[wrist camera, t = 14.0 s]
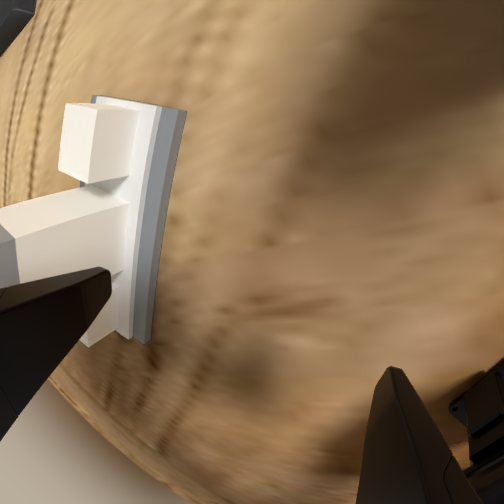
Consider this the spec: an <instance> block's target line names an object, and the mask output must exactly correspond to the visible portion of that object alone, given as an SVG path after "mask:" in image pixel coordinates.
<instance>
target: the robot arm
mask: <svg viewBox="0 0 504 504" xmlns="http://www.w3.org/2000/svg"><path fill="white" fill-rule="evenodd" d="M111 294H112V282H111V273H110V271H109V270H108V269H105V268H103V267H94V268H89V269H85V270H80V271H76V272H71V273H66V274H62V275H57V276H53V277H48V278H44V279H39V280H35V281H30V282H26V283H21V284H17V285H13V286H9V287H3V288H0V441H1V440H2V438H3V437H4V436H5V434H6V433H7V431H8V430H9V428H10V427H11V425H12V424H13V423H14V422H15V420H16V419H17V418H18V415H20V413H21V412H22V411H23V409H24V408H25V407H26V405H27V404H28V403H29V401H30V400H31V399H32V398H33V396H34V395H35V394H36V392H37V391H38V390H39V389H40V387H41V386H42V385H43V383H44V382H45V381H46V380H47V378H48V377H49V376H50V375H51V373H52V372H53V371H54V370H55V368H56V367H57V366H58V365H59V364H60V362H61V361H62V360H63V359H64V357H65V356H66V355H67V354H68V353H69V351H70V350H71V349H72V348H73V347H74V345H75V344H76V343H77V342H78V341H79V339H80V338H81V337H82V336H83V335H84V334H85V332H86V331H87V330H88V328H89V327H90V326H91V324H92V323H93V321H94V320H95V318H96V317H97V316H98V314H99V313H100V311H101V310H102V308H103V307H104V306H105V304H106V303H107V301H108V300H109V299H110V297H111ZM454 407H456V408H454ZM449 412H450V413H451V414H452V415H453V416H454V417H456V418H457V419H458V420H459V421H460V422H462V423H463V424H464V425H465V426H466V427H467V433H468V440H469V459H470V467H468V468H466V469H465V470H463V471H462V469H461V468H460V466H459V464H458V462H457V460H456V459H455V457H454V456H452V455H453V454H452V452H451V450H450V448H449V446H448V445H447V443H446V441H445V439H444V438H443V436H442V434H441V432H440V431H439V429H438V427H437V426H436V424H435V422H434V421H433V419H432V417H431V415H430V414H429V412H428V410H427V409H426V407H425V405H424V404H423V402H422V401H421V399H420V397H419V396H418V394H417V392H416V391H415V389H414V388H413V386H412V384H411V383H410V381H409V379H408V378H407V376H406V375H405V373H404V372H403V370H402V369H400V368H396V367H392V366H390V367H388V368H387V369H386V371H385V372H384V374H383V375H382V377H381V378H380V380H379V381H378V383H377V385H376V387H375V390H374V395H373V400H372V405H371V410H370V415H369V420H368V424H367V429H366V434H365V441H364V450H363V459H362V466H361V474H360V481H359V487H358V493H357V499H356V504H504V361H503V362H502V363H501V364H500V365H499V366H498V367H496V368H495V369H494V370H493V371H492V372H490V373H489V374H488V375H487V376H486V377H484V378H483V379H482V380H481V381H479V382H478V383H477V384H476V385H474V386H473V387H472V388H471V389H469V390H468V391H467V392H465V393H464V394H463V395H461V396H460V397H459V398H457V399H456V400H454V401H453V402H452V403H451V404H450V405H449Z"/></svg>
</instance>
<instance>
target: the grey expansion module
mask: <svg viewBox="0 0 504 504" xmlns="http://www.w3.org/2000/svg"><path fill="white" fill-rule="evenodd" d="M129 205H130V203H129V202H127V201H125V200H123V199H120V198H118V197H116V196H114V195H112V194H110V193H107V192H105V191H103V190H101V189H99V188H97V187H94V186H92V185H89V186H85V187H80V188H76V189H71V190H67V191H63V192H59V193H55V194H50V195H46V196H43V197H39V198H35V199H31V200H27V201H24V202H20V203H16V204H13V205H9V206H6V207H2V208H0V288H3V287H9V286H13V285H17V284H21V283H26V282H30V281H35V280H39V279H44V278H48V277H53V276H57V275H62V274H66V273H71V272H76V271H80V270H85V269H89V268H94V267H103V268H105V269H108V270H109V271H110V273H111V276H112V275H114V274H116V273H118V272H120V271H123V270H124V258H125V245H126V234H127V223H128V214H129Z"/></svg>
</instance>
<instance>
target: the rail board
mask: <svg viewBox="0 0 504 504" xmlns="http://www.w3.org/2000/svg"><path fill="white" fill-rule="evenodd" d="M186 114H187V111H184V110H179V109H174V108H170V107H165V106H160V105H155V104H150V103H145V102H139V101H134V100H128V99H122V98H116V97H109V96H102V95H92V99H91V104H85V103H79V104H66V107H65V113H64V120H63V127H62V135H61V144H60V154H59V166H58V170H59V171H62V172H64V173H66V174H68V175H70V176H72V177H74V178H76V179H78V180H80V187H85V186H89V185H92V186H94V187H97V188H99V189H101V190H103V191H105V192H107V193H110V194H112V195H114V196H116V197H118V198H120V199H123V200H125V201H127V202H129V203H130V205H129V214H128V223H127V234H126V245H125V258H124V270H123V271H120V272H118V273H116V274H114V275H112V276H111V282H112V294H111V297H110V299H109V300H108V301H107V303H106V304H105V306H104V307H103V308H102V310H101V311H100V313H99V314H98V316H97V317H96V318H95V320H94V321H93V323H92V324H91V326H90V327H89V328H88V330H87V331H86V332H85V334H84V335H83V336H82V337H81V338H80V339H79V340H80V341H81V342H82V343H84V344H85V345H86V346H87V347H90V346H91V345H93V344H95V343H96V342H98V341H99V340H101V339H102V338H104V337H105V336H107V335H108V334H110V333H111V332H113V331H114V330H116V331H117V332H118V333H120V334H121V335H122V336H124V337H125V338H127V339H128V340H129V339H130V338H132V337H133V338H135V339H136V340H138V341H139V342H140V343H142V344H143V345H145V344H146V343H147V342H149V341H150V340H151V329H152V319H153V309H154V300H155V291H156V283H157V275H158V267H159V260H160V253H161V246H162V239H163V232H164V226H165V220H166V214H167V208H168V202H169V197H170V191H171V186H172V180H173V175H174V170H175V165H176V160H177V155H178V150H179V146H180V141H181V136H182V132H183V127H184V123H185V119H186Z"/></svg>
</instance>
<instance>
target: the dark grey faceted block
mask: <svg viewBox="0 0 504 504" xmlns="http://www.w3.org/2000/svg"><path fill="white" fill-rule="evenodd" d="M36 1H37V0H0V55H1V54H2V53H3V52H4V51H5V50H6V48H7V47H8V46H9V45H10V44H11V42H12V41H13V40H14V39H15V38H16V36H17V35H18V34H19V33H20V32H21V30H22V29H23V28H24V27H25V26H26V24H27V23H28V22H29V21H30V19H31V18H32V17H33V16H34V14H35V8H36Z"/></svg>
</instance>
